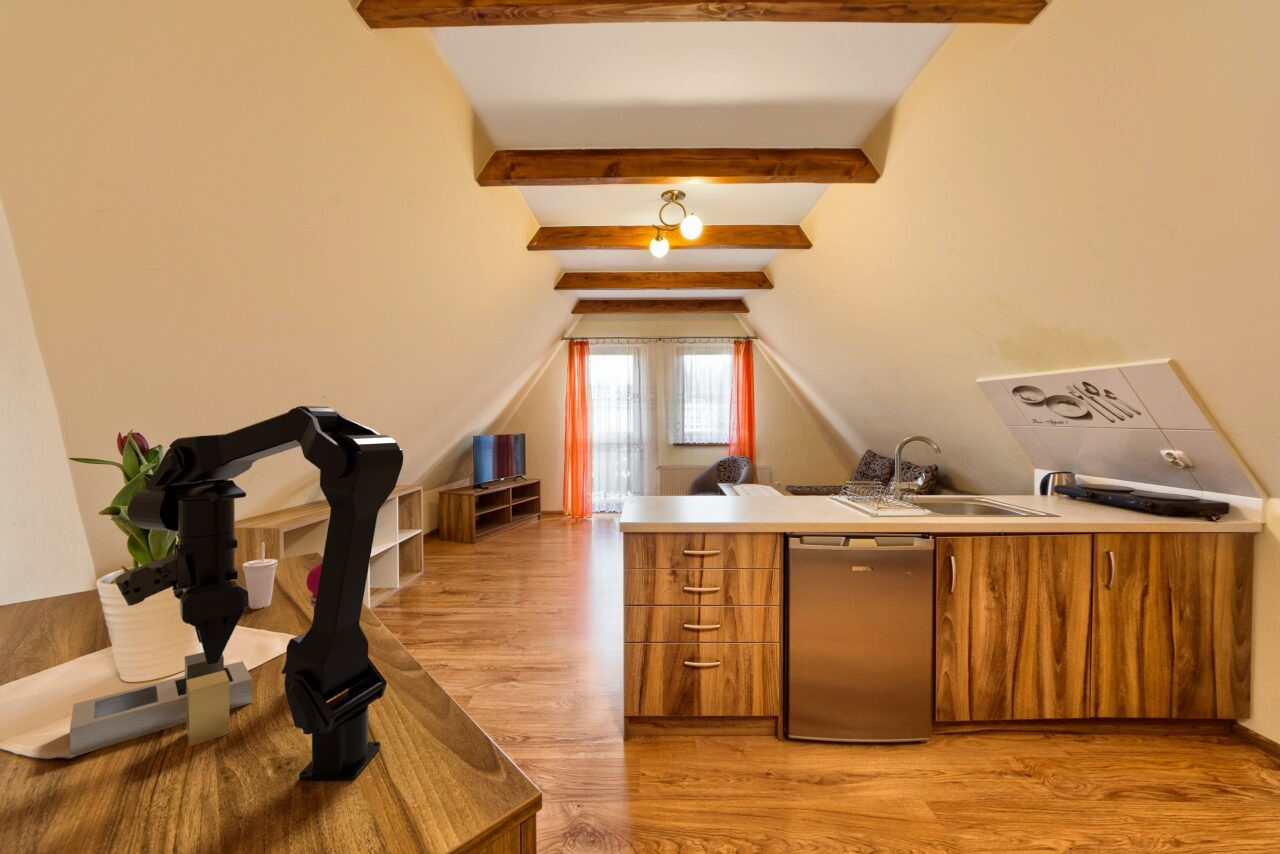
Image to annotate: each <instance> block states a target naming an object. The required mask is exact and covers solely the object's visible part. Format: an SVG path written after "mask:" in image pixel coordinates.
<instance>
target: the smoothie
mask: <svg viewBox="0 0 1280 854" xmlns="http://www.w3.org/2000/svg"><path fill="white" fill-rule="evenodd" d="M265 556H266V555H265V542H264V541H263V542H261V559H256V560H255V559H254V560H251V561H247V562H244V563H242V571H244V577H245V583H246V589H247V591H248V604H249V608H250V609H252V610H256V609H257V610H258V609H263V607H264V608H267V607H269V606H271V605H270V604H271V603H272V596H273V589H274V583H275V582H274V581H275V577H276V576H275V575H276V567H277V566H279V565H278V560H277V559H275V558H265Z"/></svg>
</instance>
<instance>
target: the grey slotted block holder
mask: <svg viewBox="0 0 1280 854" xmlns="http://www.w3.org/2000/svg"><path fill="white" fill-rule="evenodd" d="M224 659H225V658H224V654H223V653H222V655H221V657H220V659H219V661H218V662H217V663H214V664H210V665H208V664H207V662H206V658H205V655H204V651H202V652H199V653H193V654H191V655H190V654H189V655H186V656H184V675H181V676H179V677H175V678H170V679H167V680H162V681H158V682H155V683H151V684H147V685H144V686H139V687H135V688H131V689H127V690H123V691H119V692H115V693H112V694H107V695H103V696H99V697H96V698H92V699H88V700H83V701H80V702H76V703H73V706H72V713H71V719H70V727H69V757H70V756H73V755H76V756H80V755H83V754H87V753H90V752H93V751H97V750H99V749H103V748H106V747H109V746H113V745H116V744H120V743H123V742H126V741H127V742H128V741H129V740H133V739H136V738H139V737H142V736H146V735H149V734H152V733H156V732H159V731H163V730H167V729H169V728H172V727H176V726H180V725H182V724H186V680H189V679H193V678H196V677H200V676H204V675H208V674H212V673H216V672H220V671H224V670H225V672H226V674H227V676H228V679H229V710H232V709H236V708H239V707H242V706H246V705H249V704H251V703H253V677H252V676H251V675H250V672H249V670H248V669H247V666H246V665H245V663H244V661H243V660H242V661H237V662H233V663H229V664H226V665H225V661H224ZM76 756H75V757H76Z"/></svg>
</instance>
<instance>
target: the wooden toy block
mask: <svg viewBox="0 0 1280 854" xmlns="http://www.w3.org/2000/svg"><path fill="white" fill-rule="evenodd" d="M185 725H186V737H187V741H188V742H187V743H188V746H189V747H192V746H196V745H198V744H199V745H200V744H201V743H204V742H207V741H211V740H214V739H216V738H221V737H224V736H226V735H228V734H230V709H229V679H228V676H227V674H226V672H225V670H224V671H220V672H216V673H212V674H208V675H204V676H200V677H196V678H193V679H189V680H186V723H185Z"/></svg>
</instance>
